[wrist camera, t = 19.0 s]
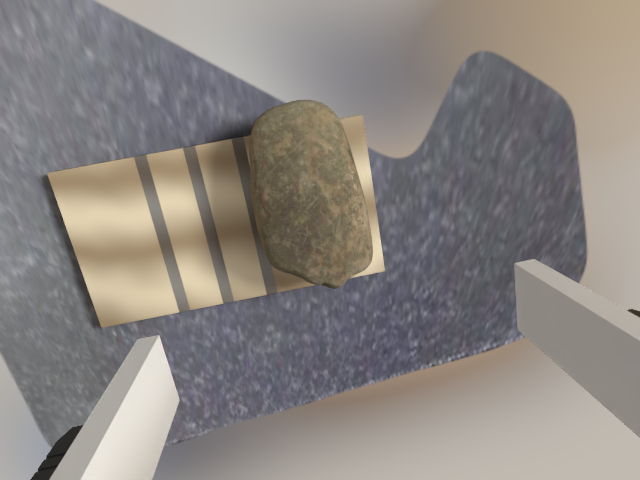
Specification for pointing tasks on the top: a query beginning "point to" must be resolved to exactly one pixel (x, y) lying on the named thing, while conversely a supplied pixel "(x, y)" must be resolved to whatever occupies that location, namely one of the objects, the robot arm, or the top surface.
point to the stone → (308, 194)
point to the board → (180, 228)
